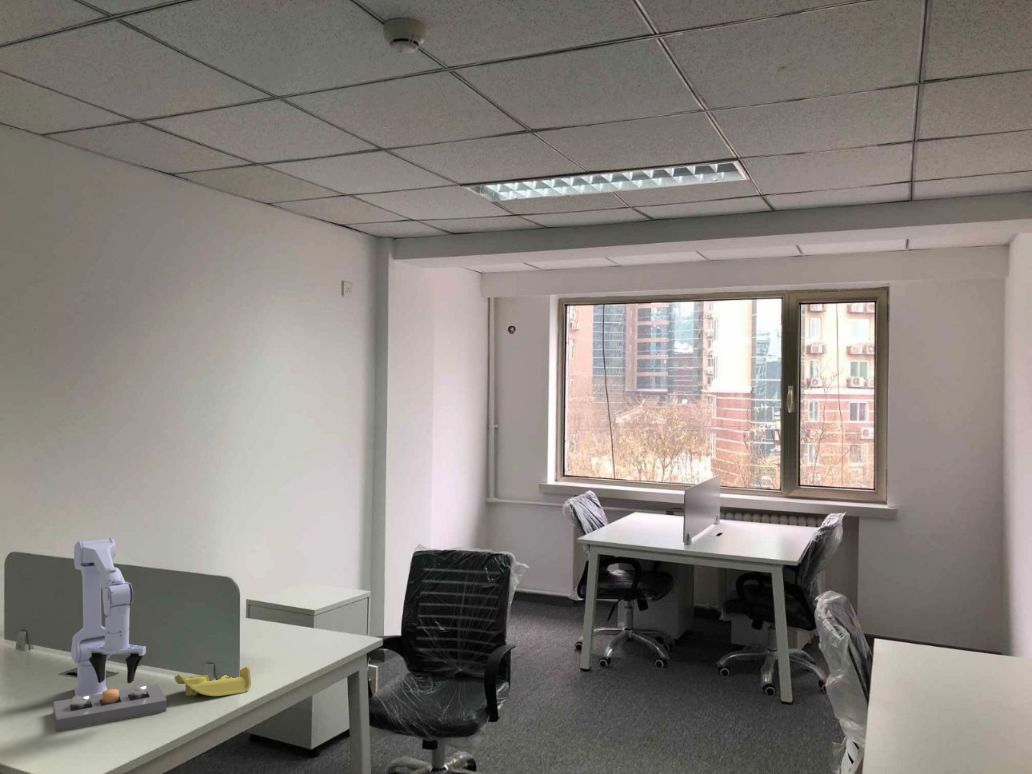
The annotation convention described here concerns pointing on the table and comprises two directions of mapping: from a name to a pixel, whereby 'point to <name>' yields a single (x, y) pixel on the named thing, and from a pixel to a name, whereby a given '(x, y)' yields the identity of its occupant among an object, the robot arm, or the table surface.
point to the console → (108, 709)
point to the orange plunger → (110, 696)
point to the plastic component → (216, 684)
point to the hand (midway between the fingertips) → (115, 681)
